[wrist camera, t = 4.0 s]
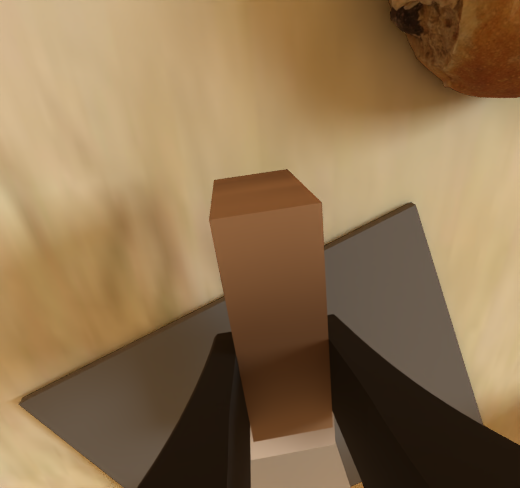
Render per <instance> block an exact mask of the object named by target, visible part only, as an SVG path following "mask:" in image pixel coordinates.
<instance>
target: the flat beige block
mask: <svg viewBox="0 0 520 488" xmlns="http://www.w3.org/2000/svg"><path fill="white" fill-rule="evenodd" d="M251 488H351V487H350V484H349V481H348V478H347V475H346V472H345V469H344V466H343V463H342V460H341V457H340V454H339V451H338V448H337V445H336V442H335V444H334V445H329V446H324V447H319V448H313V449H308V450H303V451H297V452H292V453H287V454H282V455H276V456H271V457H266V458H261V459H255V460H251Z"/></svg>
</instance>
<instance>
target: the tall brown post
mask: <svg viewBox="0 0 520 488" xmlns="http://www.w3.org/2000/svg"><path fill="white" fill-rule="evenodd" d="M209 222H210V227H211V232H212V237H213V242H214V247H215V252H216V257H217V262H218V267H219V272H220V277H221V282H222V287H223V292H224V297H225V302H226V307H227V312H228V317H229V322H230V327H231V332H232V337H233V342H234V347H235V352H236V357H237V362H238V367H239V372H240V377H241V382H242V387H243V392H244V397H245V402H246V407H247V412H248V417H249V422H250V453H251V460H255V459H261V458H266V457H271V456H276V455H282V454H287V453H292V452H297V451H303V450H308V449H313V448H319V447H324V446H329V445H334V444H335V426H334V414H333V412H332V399H331V379H330V358H329V338H328V318H327V298H326V278H325V257H324V237H323V217H322V202H321V201H320V200H319V199H317V198H316V197H315V196H314V195H313V194H312V193H311V192H310V191H309V190H308V189H307V188H306V187H305V186H304V185H303V184H302V183H301V182H300V181H299V180H298V179H297V178H296V177H295V176H294V175H293V174H292V173H291V172H290V171H289V170H287V169H286V170H279V171H272V172H266V173H259V174H252V175H245V176H238V177H232V178H225V179H218V180H214V185H213V193H212V201H211V209H210V217H209Z"/></svg>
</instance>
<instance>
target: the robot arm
mask: <svg viewBox="0 0 520 488" xmlns="http://www.w3.org/2000/svg"><path fill="white" fill-rule="evenodd" d="M327 318H328V338H329V358H330V379H331V399H332V412H333V414H334V416H335V419H336V421H337V424H338V426H339V428H340V431H341V433H342V436H343V438H344V440H345V443H346V445H347V447H348V450H349V452H350V454H351V457H352V459H353V462H354V464H355V466H356V469H357V471H358V473H359V476H360V479H361V481H362V484H363V486H364V488H520V445H518V444H516V443H514V442H512V441H511V440H509V439H507V438H505V437H503V436H502V435H500V434H498V433H496V432H494V431H493V430H491V429H489V428H487V427H485V426H484V425H482V424H480V423H478V422H477V421H475V420H473V419H471V418H470V417H468V416H466V415H465V414H463V413H461V412H460V411H458V410H456V409H455V408H453V407H452V406H450V405H448V404H447V403H445V402H444V401H442V400H441V399H439V398H438V397H436V396H434V395H433V394H432V393H430V392H429V391H427V390H426V389H424V388H423V387H421V386H420V385H419V384H417V383H416V382H414V381H413V380H412V379H410V378H409V377H408V376H406V375H405V374H404V373H402V372H401V371H400V370H398V369H397V368H396V367H395V366H393V365H392V364H391V363H389V362H388V361H387V360H386V359H385V358H383V357H382V356H381V355H380V354H378V353H377V352H376V351H375V350H374V349H372V348H371V347H370V346H369V345H368V344H367V343H365V342H364V341H363V340H362V339H361V338H360V337H359V336H358V335H356V334H355V333H354V332H353V331H352V330H351V329H350V328H349V327H348V326H347V325H346V324H344V323H343V322H342V321H341V320H340V319H339V318H338V317H337V316H336V315H334V314H331V315H327ZM137 488H251V453H250V422H249V417H248V412H247V407H246V402H245V397H244V392H243V387H242V382H241V377H240V372H239V367H238V362H237V357H236V352H235V347H234V342H233V337H232V332H225V333H219V334H217V335H216V336H215V337H214V340H213V344H212V347H211V350H210V352H209V355H208V358H207V360H206V363H205V366H204V368H203V370H202V373H201V375H200V377H199V379H198V382H197V384H196V386H195V388H194V391H193V393H192V395H191V397H190V399H189V401H188V403H187V405H186V407H185V409H184V411H183V413H182V414H181V416H180V418H179V420H178V422H177V424H176V426H175V428H174V429H173V431H172V433H171V435H170V436H169V438H168V440H167V442H166V443H165V445H164V447H163V448H162V450H161V451H160V453H159V455H158V456H157V458H156V460H155V461H154V463H153V464H152V466H151V467H150V469H149V470H148V472H147V473H146V475H145V476H144V478H143V479H142V481H141V482H140V484H139V485H138V487H137Z"/></svg>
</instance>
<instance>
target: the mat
mask: <svg viewBox="0 0 520 488" xmlns="http://www.w3.org/2000/svg"><path fill="white" fill-rule="evenodd" d="M324 257H325V278H326V298H327V315H331V314H334V315H336V316H337V317H338V318H339V319H340V320H341V321H342V322H343V323H344V324H346V325H347V326H348V327H349V328H350V329H351V330H352V331H353V332H354V333H355V334H356V335H358V336H359V337H360V338H361V339H362V340H363V341H364V342H365V343H367V344H368V345H369V346H370V347H371V348H372V349H374V350H375V351H376V352H377V353H378V354H380V355H381V356H382V357H383V358H385V359H386V360H387V361H388V362H389V363H391V364H392V365H393V366H395V367H396V368H397V369H398V370H400V371H401V372H402V373H404V374H405V375H406V376H408V377H409V378H410V379H412V380H413V381H414V382H416V383H417V384H419V385H420V386H421V387H423V388H424V389H426V390H427V391H429V392H430V393H432V394H433V395H434V396H436V397H438V398H439V399H441V400H442V401H444V402H445V403H447V404H448V405H450V406H452V407H453V408H455V409H456V410H458V411H460V412H461V413H463V414H465V415H466V416H468V417H470V418H471V419H473V420H475V421H477V422H478V423H480V424H482V425H483V423H482V419H481V416H480V413H479V410H478V406H477V403H476V400H475V397H474V393H473V390H472V387H471V384H470V380H469V377H468V374H467V371H466V367H465V364H464V361H463V358H462V354H461V351H460V348H459V345H458V341H457V338H456V335H455V332H454V328H453V325H452V322H451V319H450V315H449V312H448V309H447V305H446V302H445V299H444V296H443V292H442V289H441V286H440V283H439V279H438V276H437V273H436V270H435V266H434V263H433V260H432V257H431V253H430V250H429V247H428V244H427V240H426V237H425V234H424V231H423V227H422V224H421V221H420V218H419V214H418V211H417V208H416V205H415V204H413V203H409V204H407V205H405V206H403V207H401V208H399V209H397V210H395V211H393V212H391V213H389V214H387V215H385V216H383V217H381V218H379V219H377V220H375V221H373V222H371V223H369V224H367V225H365V226H363V227H361V228H359V229H357V230H355V231H353V232H351V233H349V234H347V235H345V236H343V237H341V238H339V239H337V240H335V241H333V242H331V243H329V244H327V245H325V246H324ZM225 332H231V327H230V322H229V317H228V312H227V307H226V302H225V297H222V298H220V299H218V300H216V301H214V302H212V303H210V304H208V305H206V306H204V307H202V308H200V309H198V310H196V311H194V312H192V313H190V314H188V315H186V316H184V317H182V318H180V319H178V320H176V321H174V322H172V323H170V324H168V325H166V326H164V327H162V328H160V329H158V330H157V331H155V332H153V333H151V334H149V335H147V336H145V337H143V338H141V339H139V340H137V341H135V342H133V343H131V344H129V345H127V346H125V347H123V348H121V349H119V350H117V351H115V352H113V353H111V354H109V355H107V356H105V357H103V358H101V359H99V360H97V361H95V362H93V363H91V364H89V365H87V366H85V367H83V368H81V369H79V370H77V371H75V372H73V373H71V374H69V375H67V376H65V377H63V378H61V379H59V380H57V381H55V382H53V383H51V384H49V385H47V386H45V387H43V388H41V389H39V390H37V391H35V392H33V393H31V394H29V395H27V396H26V397H24V398H22V400H21V401H20V403H19V405H20V406H21V407H23V408H24V409H25V410H26V411H28V412H29V413H30V414H31V415H33V416H34V417H35V418H36V419H38V420H39V421H40V422H41V423H43V424H44V425H45V426H47V427H48V428H49V429H50V430H52V431H53V432H54V433H55V434H57V435H58V436H59V437H60V438H62V439H63V440H64V441H66V442H67V443H68V444H69V445H71V446H72V447H73V448H74V449H76V450H77V451H78V452H79V453H81V454H82V455H83V456H85V457H86V458H87V459H88V460H90V461H91V462H92V463H93V464H95V465H96V466H97V467H98V468H100V469H101V470H102V471H103V472H105V473H106V474H107V475H109V476H110V477H111V478H112V479H114V480H115V481H116V482H117V483H119V484H120V485H121V486H122V487H124V488H137V487H138V485H139V484H140V482H141V481H142V479H143V478H144V476H145V475H146V473H147V472H148V470H149V469H150V467H151V466H152V464H153V463H154V461H155V460H156V458H157V456H158V455H159V453H160V451H161V450H162V448H163V447H164V445H165V443H166V442H167V440H168V438H169V436H170V435H171V433H172V431H173V429H174V428H175V426H176V424H177V422H178V420H179V418H180V416H181V414H182V413H183V411H184V409H185V407H186V405H187V403H188V401H189V399H190V397H191V395H192V393H193V391H194V388H195V386H196V384H197V382H198V379H199V377H200V375H201V373H202V370H203V368H204V366H205V363H206V360H207V358H208V355H209V352H210V350H211V347H212V344H213V340H214V337H215V336H216V335H217V334H219V333H225ZM334 426H335V442H336V445H337V448H338V451H339V454H340V457H341V460H342V463H343V466H344V469H345V472H346V475H347V478H348V481H349V484H350V487H351V486H353V485H356V484H358V483H361V482H362V481H361V479H360V476H359V473H358V471H357V469H356V466H355V464H354V462H353V459H352V457H351V454H350V452H349V450H348V447H347V445H346V443H345V440H344V438H343V436H342V433H341V431H340V428H339V426H338V424H337V421H336V419H335V416H334Z"/></svg>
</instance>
